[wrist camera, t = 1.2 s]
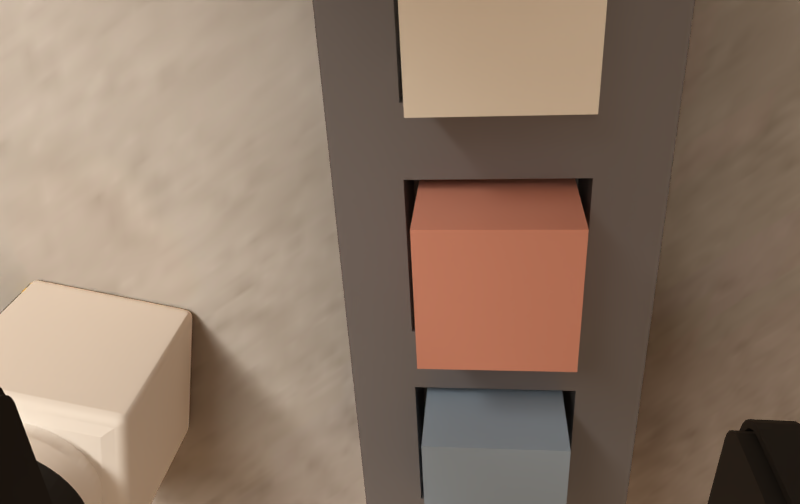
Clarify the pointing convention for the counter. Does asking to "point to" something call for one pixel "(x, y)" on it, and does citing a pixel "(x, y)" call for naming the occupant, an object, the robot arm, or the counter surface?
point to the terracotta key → (498, 274)
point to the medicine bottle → (97, 389)
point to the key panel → (501, 159)
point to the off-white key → (501, 57)
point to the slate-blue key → (495, 446)
